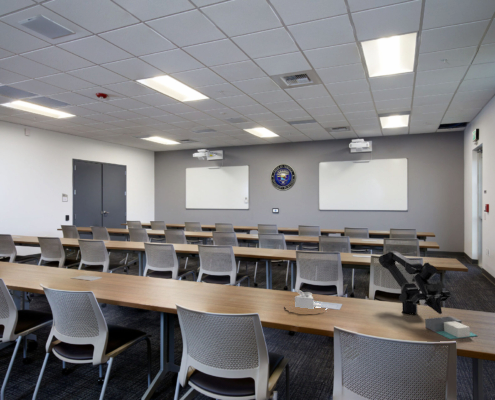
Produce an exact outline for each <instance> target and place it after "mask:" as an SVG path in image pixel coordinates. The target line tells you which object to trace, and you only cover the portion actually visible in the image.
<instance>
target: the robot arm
mask: <svg viewBox="0 0 495 400" xmlns="http://www.w3.org/2000/svg"><path fill="white" fill-rule="evenodd" d="M378 262H379V264H380V265H381V266H382V268H385V269H387V270H388V271H389V273H390V275H391V276H392V277H393V279H394V280H395V281H396V282H397V285H398V286H399V287H400V295H399V296H398V300H399V301H400V302H401V303H402V304H401V305H402V306H401V307H402V311H401V313H402V314H407V315H413V316H415V315H416V314H417V313H418V305H419V304H420V301H424V305H425V306H428V307H429V308H431V309H432V310H433V311H435V312H436V313H438V314H439V315H442V314H443V311H442V307H441V302H447V300H448V299H450V298H451V297H452V294H451V292H450V291H448V290H444V289H445V287H446V286H445V283H443V281H439V282H436V283H432V282H431V283H430V281H429V280H432V279H433V277H434V276H435V275H436V273H438V269H437V267H435V266H434V265H432V264H430V263H429V262H425V263H423V264H422V263H421V262H418V261H415V260H410V259H409V258H408V257H406V256H404V254H401V253H400V252H399V251H397V250H391V251H388V252H386V253H384V254H382V255H379V257H378ZM396 263H398V264H399V265H401V266H402V267H403V268H404V270H405V272H406V273H408V275H413V276H412V280H411V282H412V283H411V282H409V281H408V280H407V279H406V277H405V276H404V274H403V273H402V272H401V270H400V269H399V267H398V266H397V265H396ZM414 282H415V283H414ZM416 284H417V285H416ZM443 290H444V291H443ZM439 291H441V292H440V293H439Z"/></svg>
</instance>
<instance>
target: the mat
mask: <svg viewBox="0 0 495 400" xmlns="http://www.w3.org/2000/svg"><path fill="white" fill-rule="evenodd" d="M435 333H436V334H439V335H441V336H442V337H444V338H446V339H448V340H456V339H465V338H466V337H459V338H458V337H456V336H454V335H452V334H449V333H447V332H445V331H438V332H435ZM472 337H478V335H477V334H475V333H474V332H472V331H470V336H468V337H467V338H472Z"/></svg>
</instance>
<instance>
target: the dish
mask: <svg viewBox="0 0 495 400" xmlns="http://www.w3.org/2000/svg"><path fill="white" fill-rule="evenodd" d="M296 292H297V294H299V295H296V296H294V301H295V307H300V308H308V309H314V307H315V306H316V307H315V308H321V307H319V306H320V305H321V304H319V303H315V302H314V301H315V299H314V297H313V296H312V295H313V293H312V292H310V291H305V292H303V291H302V290H300V289H297V290H296ZM327 309H328V310H329V307H328V308H326V309H325V310H327Z"/></svg>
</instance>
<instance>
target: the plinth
mask: <svg viewBox="0 0 495 400" xmlns="http://www.w3.org/2000/svg"><path fill="white" fill-rule="evenodd" d="M424 320H425V328H426V329H428V330H430V331H432V332H434V333H436V332H438V331H444V322H451V321H456V322H459V323H461V324H463V323H462V319H458V318H456V317H453V316H450V315H448V316H442V317H441V316H440V317H431V318H430V317H429V318H425V319H424Z"/></svg>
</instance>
